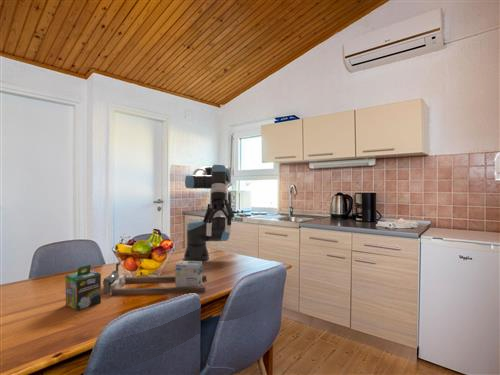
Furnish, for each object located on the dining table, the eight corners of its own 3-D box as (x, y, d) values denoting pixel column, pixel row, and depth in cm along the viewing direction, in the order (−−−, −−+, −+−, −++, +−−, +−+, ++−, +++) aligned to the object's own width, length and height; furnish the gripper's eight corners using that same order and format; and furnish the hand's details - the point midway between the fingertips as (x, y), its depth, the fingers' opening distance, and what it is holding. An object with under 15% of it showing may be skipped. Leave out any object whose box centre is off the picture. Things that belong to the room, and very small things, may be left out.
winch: (115, 280, 136) (115, 262, 136) (123, 280, 136) (123, 262, 136) (101, 293, 120) (101, 272, 120) (110, 292, 120) (110, 272, 120)
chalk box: (89, 297, 116) (89, 260, 116) (101, 302, 111) (101, 264, 110) (64, 305, 108) (64, 266, 108) (76, 311, 103) (76, 270, 103)
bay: (123, 281, 134) (123, 273, 134) (206, 279, 138) (206, 271, 138) (110, 295, 118) (110, 285, 118) (205, 292, 123) (205, 282, 122)
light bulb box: (202, 284, 132) (202, 260, 132) (198, 289, 126) (198, 264, 126) (180, 282, 134) (180, 259, 133) (174, 288, 127) (174, 263, 127)
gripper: (197, 196, 154) (195, 236, 147) (230, 186, 138) (230, 229, 132) (207, 199, 159) (206, 237, 152) (241, 189, 144) (241, 231, 137)
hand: (218, 234), depth 142 cm, fingers open, 13 cm apart
